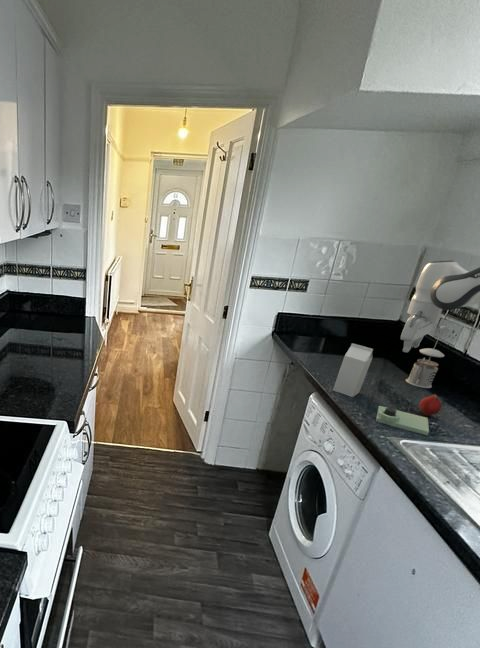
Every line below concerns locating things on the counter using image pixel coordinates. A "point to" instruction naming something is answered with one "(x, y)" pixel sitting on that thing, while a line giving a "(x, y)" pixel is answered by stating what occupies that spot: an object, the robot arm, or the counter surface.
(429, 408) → the onion
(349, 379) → the milk carton
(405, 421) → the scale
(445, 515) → the counter surface
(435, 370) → the french press
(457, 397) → the counter surface
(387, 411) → the tare button
